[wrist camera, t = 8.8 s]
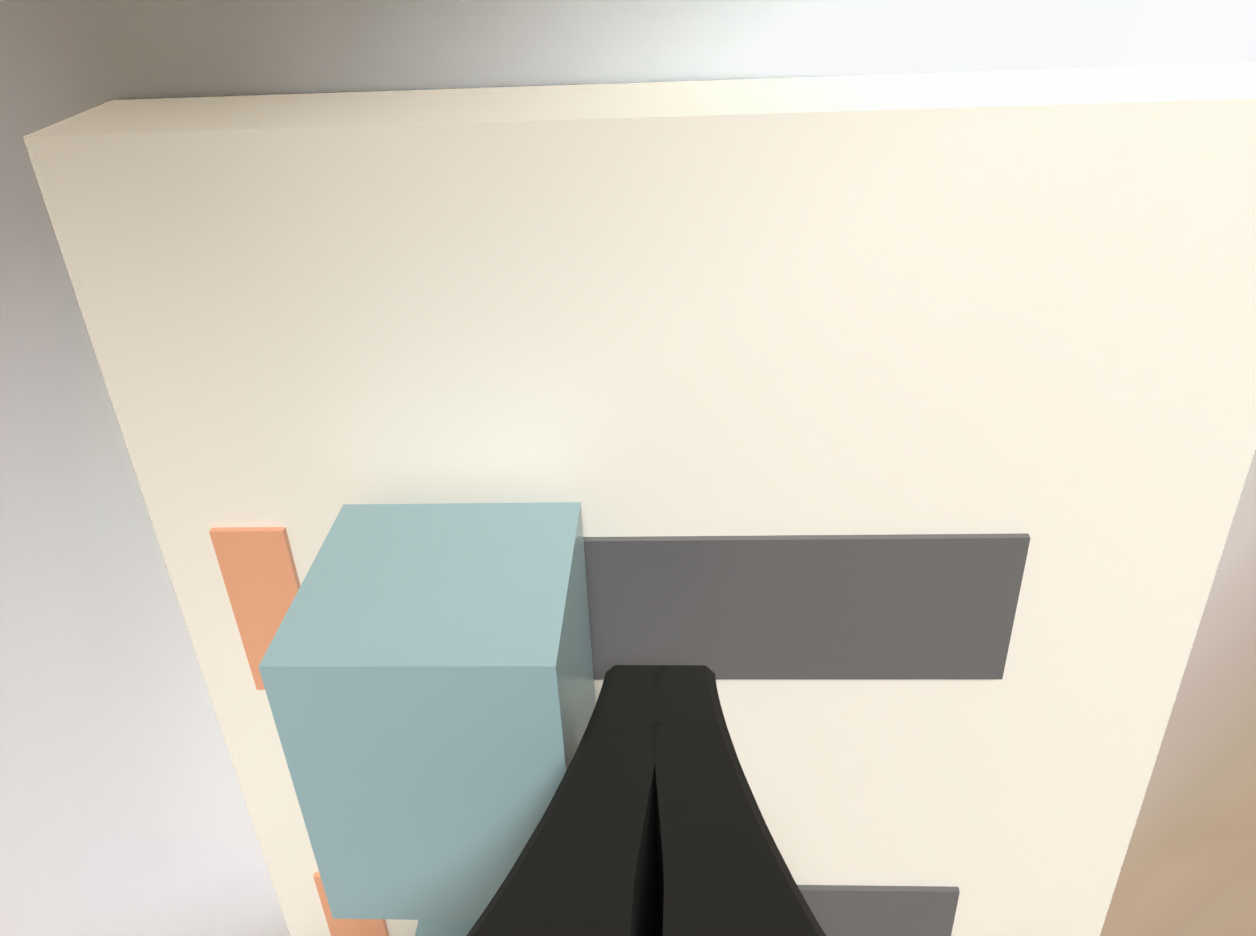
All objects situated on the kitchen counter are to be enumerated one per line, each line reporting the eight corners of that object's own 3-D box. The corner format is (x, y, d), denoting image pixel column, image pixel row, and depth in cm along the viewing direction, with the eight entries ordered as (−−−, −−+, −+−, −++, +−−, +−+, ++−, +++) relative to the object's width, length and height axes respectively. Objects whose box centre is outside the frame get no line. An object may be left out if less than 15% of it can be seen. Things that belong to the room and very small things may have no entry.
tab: (597, 736, 15) (580, 922, 12) (393, 735, 15) (333, 918, 12) (581, 501, 13) (556, 665, 10) (343, 503, 13) (257, 666, 10)
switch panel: (1007, 1037, 22) (1037, 1141, 20) (376, 1025, 23) (350, 1124, 21) (1268, 61, 12) (1374, 97, 10) (111, 100, 13) (17, 138, 11)
